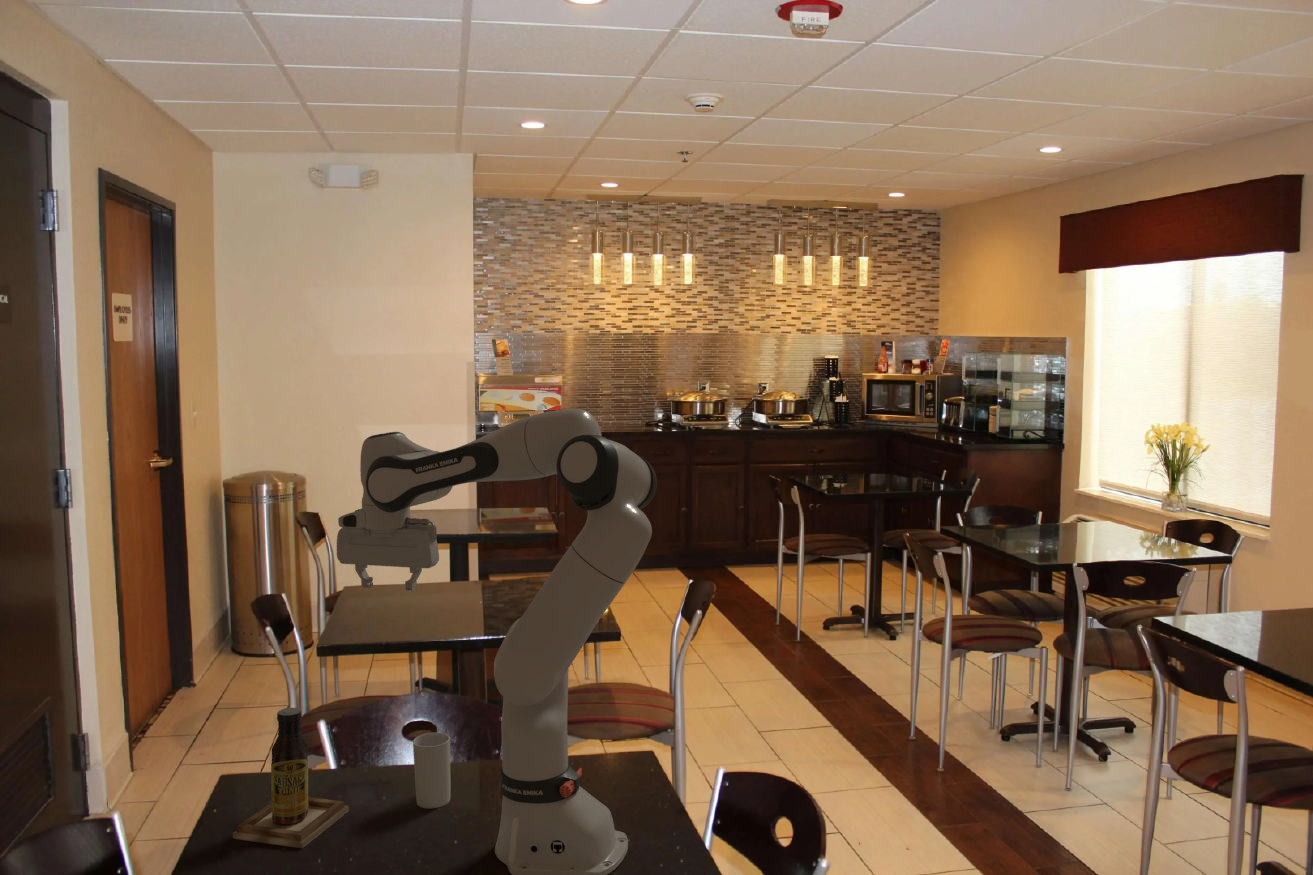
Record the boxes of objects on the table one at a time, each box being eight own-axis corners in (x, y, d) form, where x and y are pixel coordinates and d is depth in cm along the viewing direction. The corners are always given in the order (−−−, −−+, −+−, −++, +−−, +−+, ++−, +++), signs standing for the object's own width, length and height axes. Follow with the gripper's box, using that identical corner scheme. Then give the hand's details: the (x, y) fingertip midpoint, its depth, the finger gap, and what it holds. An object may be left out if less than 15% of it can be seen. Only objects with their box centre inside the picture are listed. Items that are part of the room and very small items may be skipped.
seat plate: (348, 810, 183) (348, 800, 183) (302, 848, 170) (302, 837, 169) (283, 802, 187) (282, 792, 186) (233, 838, 173) (232, 827, 173)
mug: (446, 809, 183) (444, 746, 182) (410, 809, 183) (408, 746, 182) (459, 785, 193) (457, 725, 192) (425, 785, 193) (423, 725, 192)
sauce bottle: (271, 829, 174) (266, 720, 172) (272, 814, 180) (266, 707, 178) (311, 822, 176) (306, 714, 175) (310, 807, 182) (305, 702, 180)
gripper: (443, 516, 189) (446, 587, 190) (349, 512, 194) (352, 581, 196) (427, 521, 183) (430, 595, 184) (330, 517, 188) (333, 589, 190)
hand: (389, 588), depth 190 cm, fingers open, 8 cm apart
